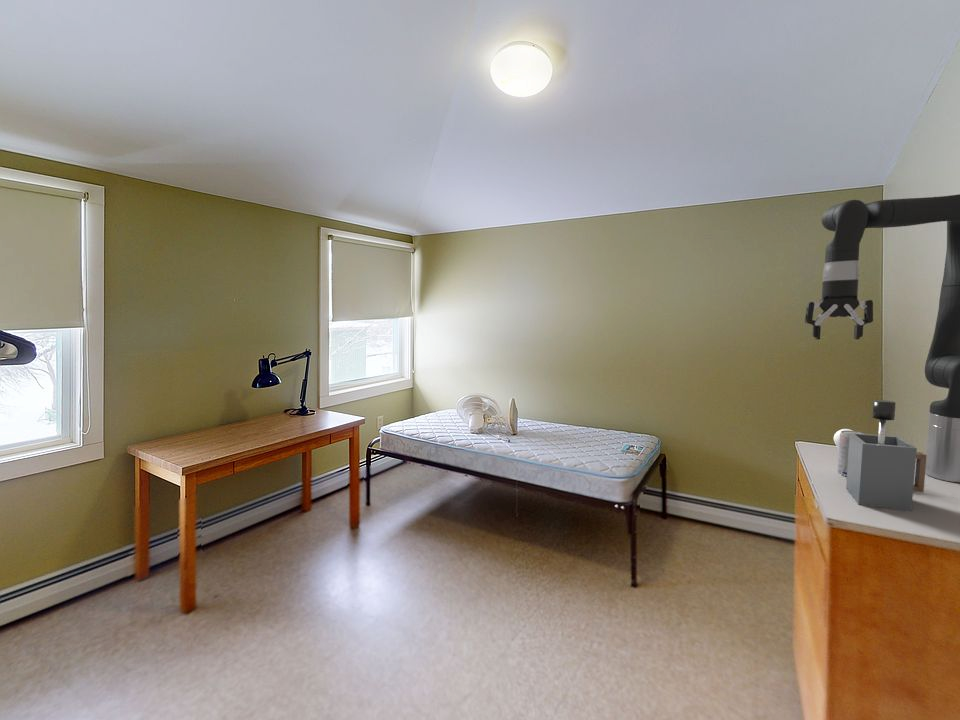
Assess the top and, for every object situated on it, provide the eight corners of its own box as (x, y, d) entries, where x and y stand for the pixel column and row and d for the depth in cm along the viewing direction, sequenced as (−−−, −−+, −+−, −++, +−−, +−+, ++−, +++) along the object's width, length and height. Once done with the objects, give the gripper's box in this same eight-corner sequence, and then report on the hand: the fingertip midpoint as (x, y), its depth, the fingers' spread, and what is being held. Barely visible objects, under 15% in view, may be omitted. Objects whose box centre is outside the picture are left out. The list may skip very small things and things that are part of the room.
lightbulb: (848, 461, 133) (851, 426, 132) (864, 469, 127) (866, 432, 126) (827, 461, 134) (829, 426, 133) (841, 469, 128) (843, 432, 127)
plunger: (890, 482, 109) (897, 399, 107) (902, 493, 103) (910, 405, 101) (854, 478, 112) (860, 398, 110) (864, 488, 106) (870, 403, 104)
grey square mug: (911, 496, 109) (916, 437, 107) (930, 513, 100) (935, 449, 99) (846, 489, 115) (849, 432, 113) (858, 504, 106) (862, 443, 104)
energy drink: (866, 478, 121) (869, 436, 119) (844, 477, 122) (847, 435, 120) (854, 471, 126) (857, 430, 124) (833, 470, 127) (835, 430, 126)
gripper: (869, 278, 119) (865, 338, 121) (804, 281, 125) (801, 338, 127) (879, 276, 112) (875, 340, 114) (811, 280, 118) (807, 340, 120)
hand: (836, 339), depth 121 cm, fingers open, 8 cm apart
